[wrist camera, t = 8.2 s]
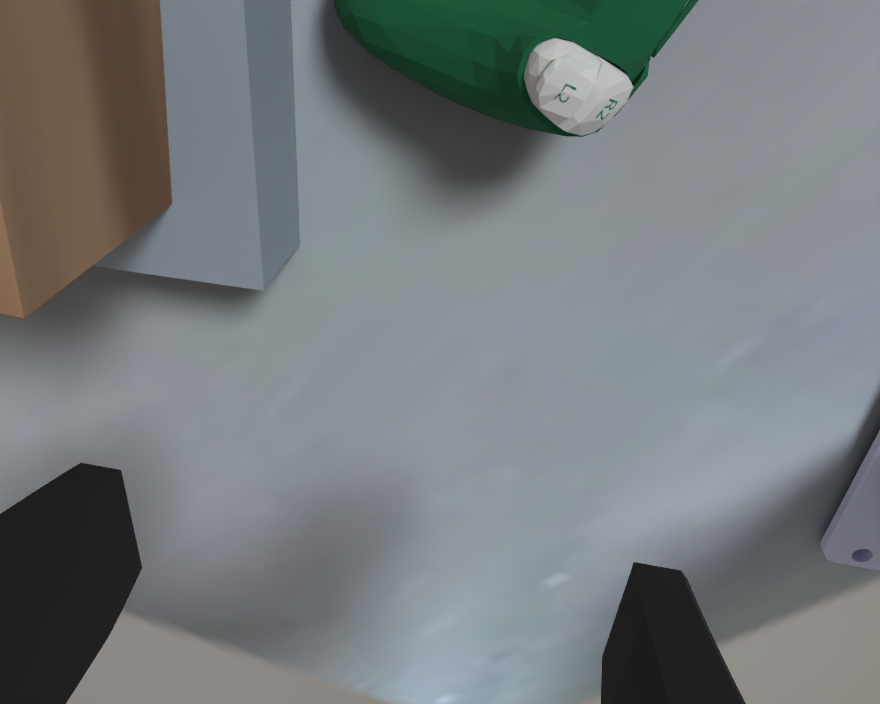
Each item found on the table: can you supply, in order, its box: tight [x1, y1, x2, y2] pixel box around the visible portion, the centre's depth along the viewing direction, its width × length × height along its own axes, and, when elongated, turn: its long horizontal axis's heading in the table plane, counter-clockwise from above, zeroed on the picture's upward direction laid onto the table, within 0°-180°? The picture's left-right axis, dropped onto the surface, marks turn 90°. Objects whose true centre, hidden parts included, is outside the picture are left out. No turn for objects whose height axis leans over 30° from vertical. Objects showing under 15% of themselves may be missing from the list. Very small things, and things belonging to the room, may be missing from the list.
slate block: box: [92, 0, 300, 291], centre depth 16 cm, size 8×8×3 cm
